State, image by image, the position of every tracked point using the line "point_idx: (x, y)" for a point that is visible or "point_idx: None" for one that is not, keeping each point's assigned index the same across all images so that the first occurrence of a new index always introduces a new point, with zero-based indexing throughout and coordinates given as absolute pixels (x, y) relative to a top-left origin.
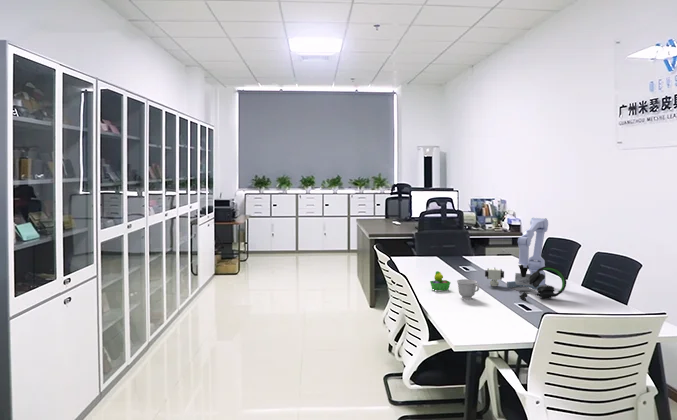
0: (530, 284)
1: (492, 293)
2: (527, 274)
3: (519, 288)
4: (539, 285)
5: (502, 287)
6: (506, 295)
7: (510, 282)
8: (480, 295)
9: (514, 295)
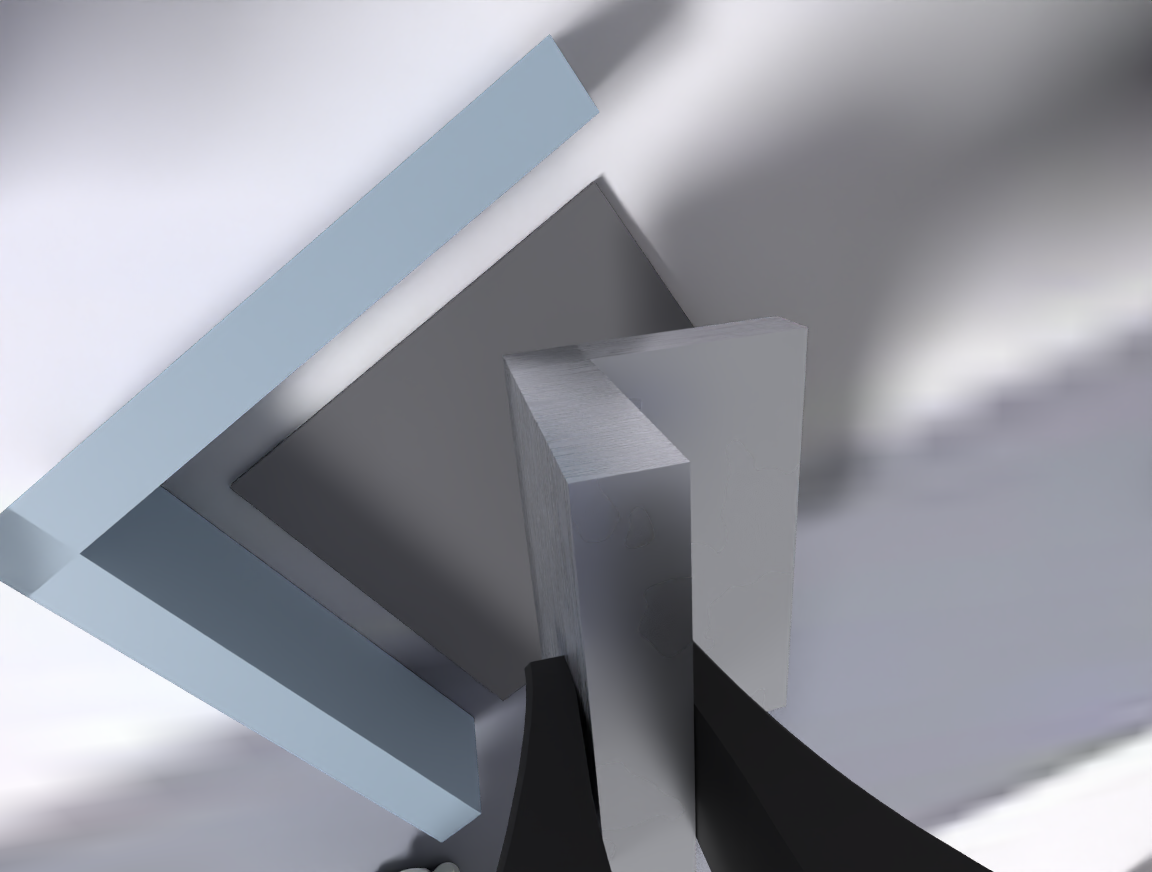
0: (789, 388)
1: (913, 803)
2: (688, 650)
3: (510, 548)
4: (590, 100)
5: (500, 786)
6: (1012, 655)
7: (443, 780)
8: (1010, 867)
9: (1014, 566)
